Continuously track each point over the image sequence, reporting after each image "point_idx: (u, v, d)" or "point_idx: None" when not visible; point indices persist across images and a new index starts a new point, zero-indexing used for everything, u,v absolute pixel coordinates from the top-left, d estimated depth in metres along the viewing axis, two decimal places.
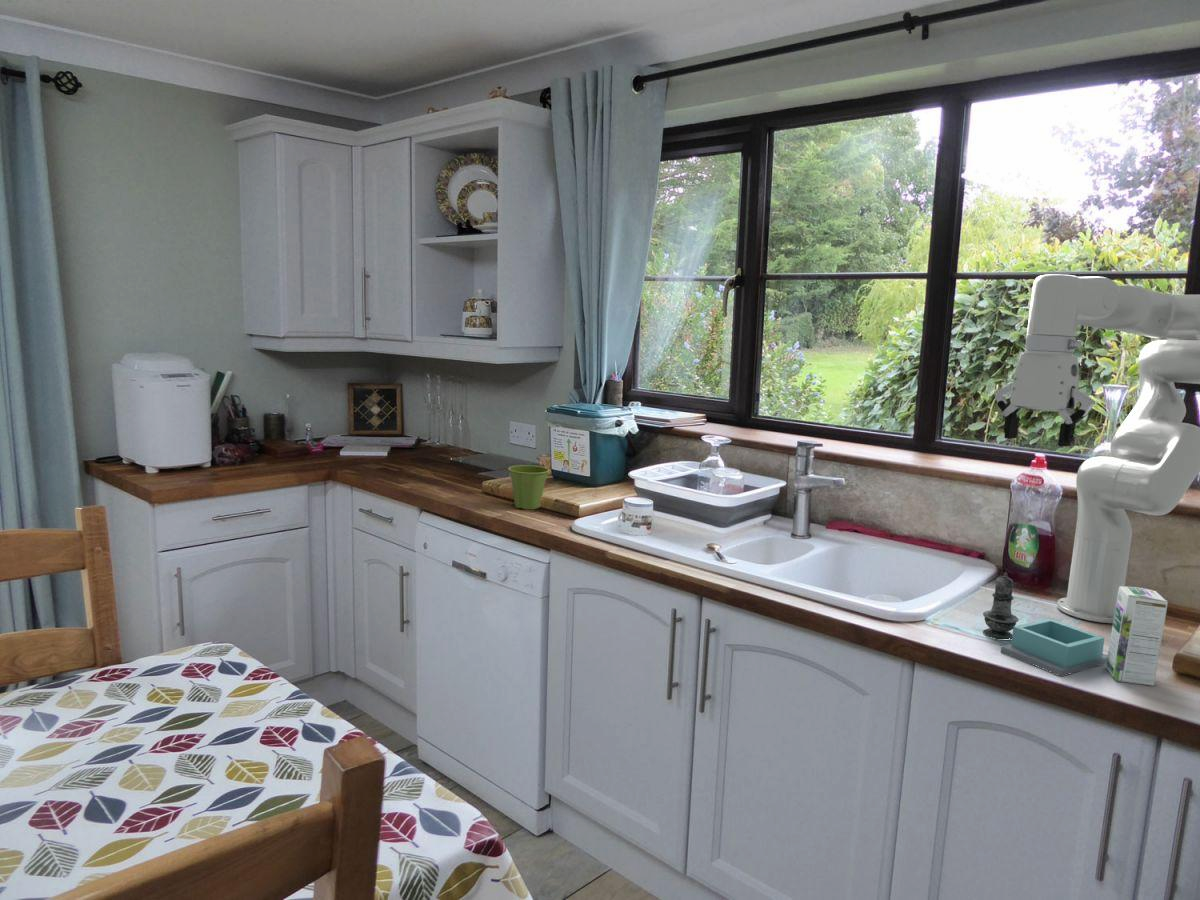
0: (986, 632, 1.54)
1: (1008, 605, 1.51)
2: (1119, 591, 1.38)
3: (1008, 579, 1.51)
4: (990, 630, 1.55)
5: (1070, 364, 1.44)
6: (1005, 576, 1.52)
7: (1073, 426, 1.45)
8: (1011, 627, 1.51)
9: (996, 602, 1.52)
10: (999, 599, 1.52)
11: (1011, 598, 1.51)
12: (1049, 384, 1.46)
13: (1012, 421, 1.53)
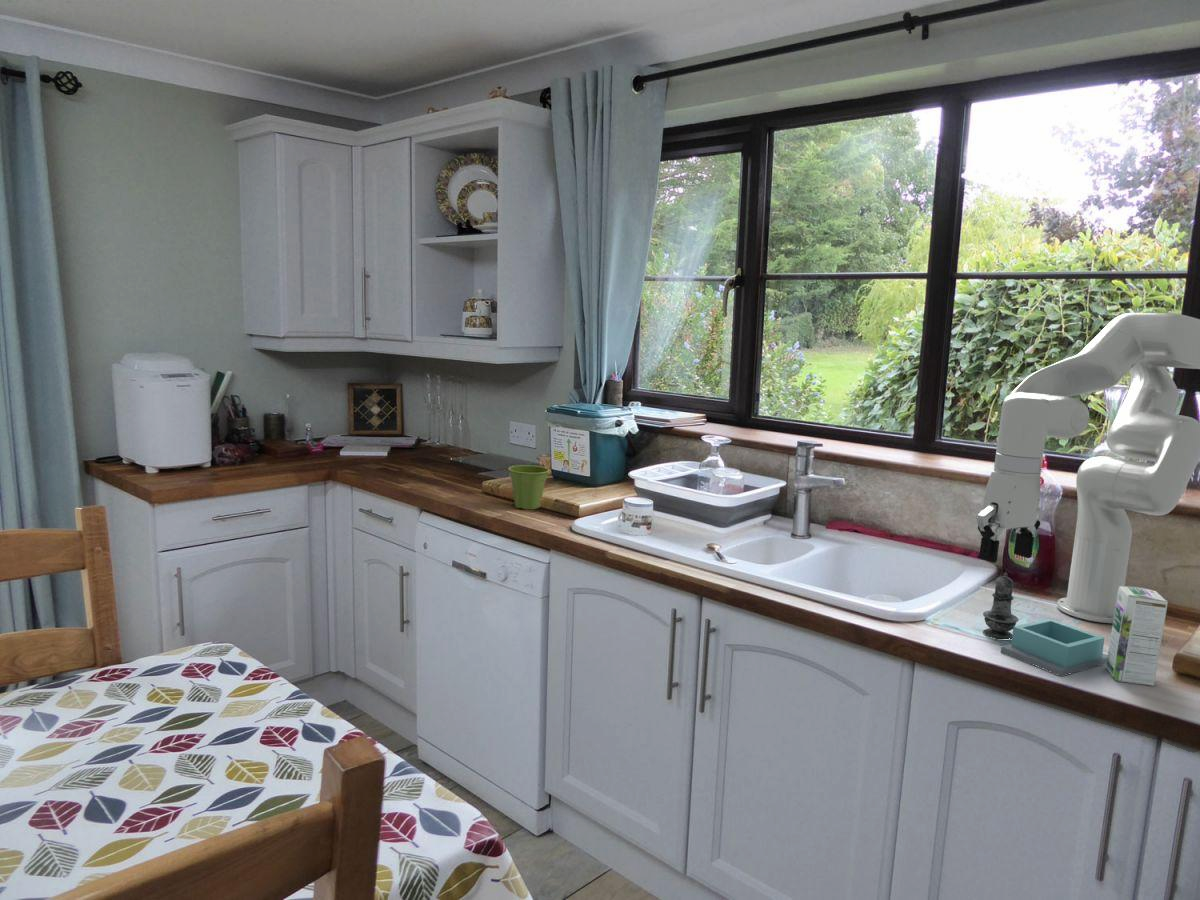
0: (986, 632, 1.54)
1: (1008, 605, 1.51)
2: (1119, 591, 1.38)
3: (1008, 579, 1.51)
4: (990, 630, 1.55)
5: None
6: (1005, 576, 1.52)
7: None
8: (1011, 627, 1.51)
9: (996, 602, 1.52)
10: (999, 599, 1.52)
11: (1011, 598, 1.51)
12: (1032, 503, 1.49)
13: None
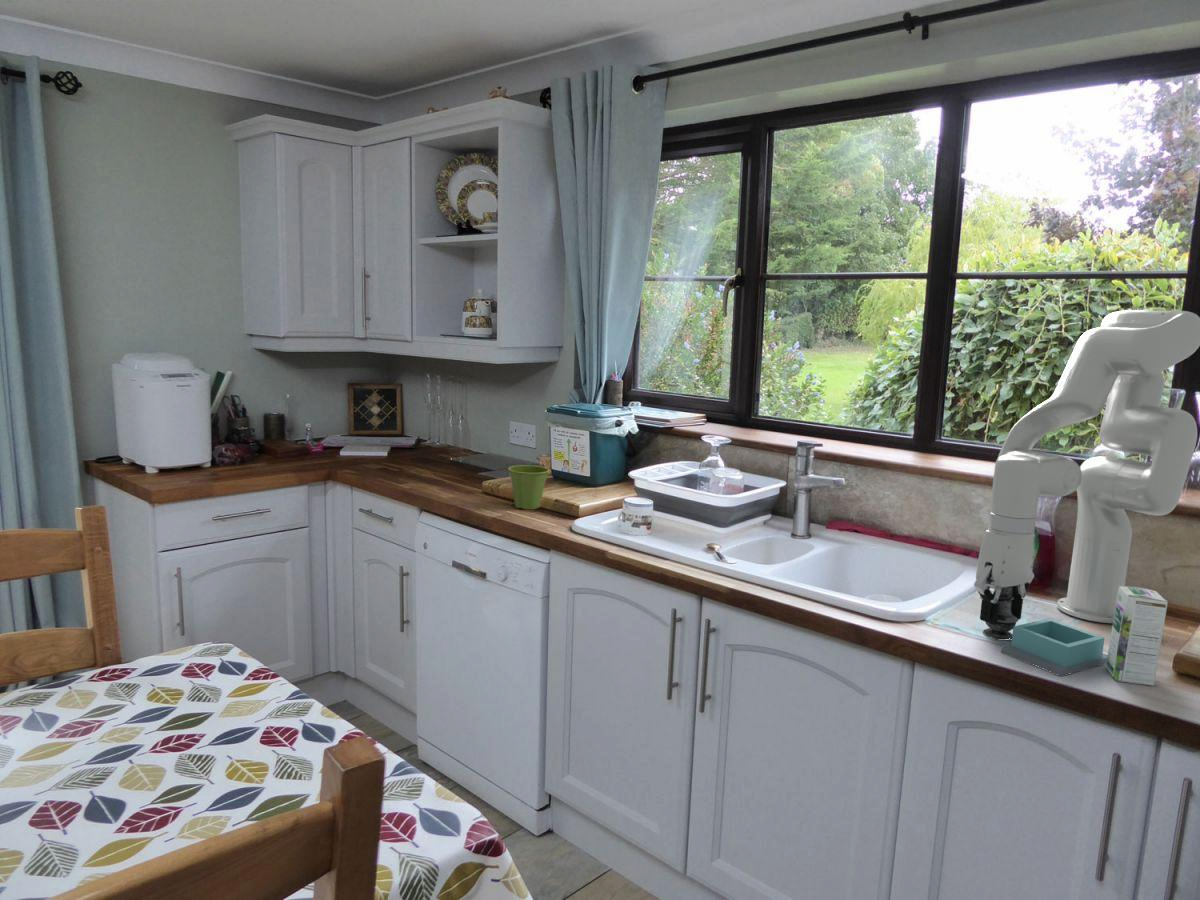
0: (986, 632, 1.54)
1: (1008, 605, 1.51)
2: (1119, 591, 1.38)
3: None
4: (990, 630, 1.55)
5: None
6: None
7: None
8: (1011, 627, 1.51)
9: None
10: (999, 599, 1.52)
11: (1011, 598, 1.51)
12: (1026, 561, 1.51)
13: None
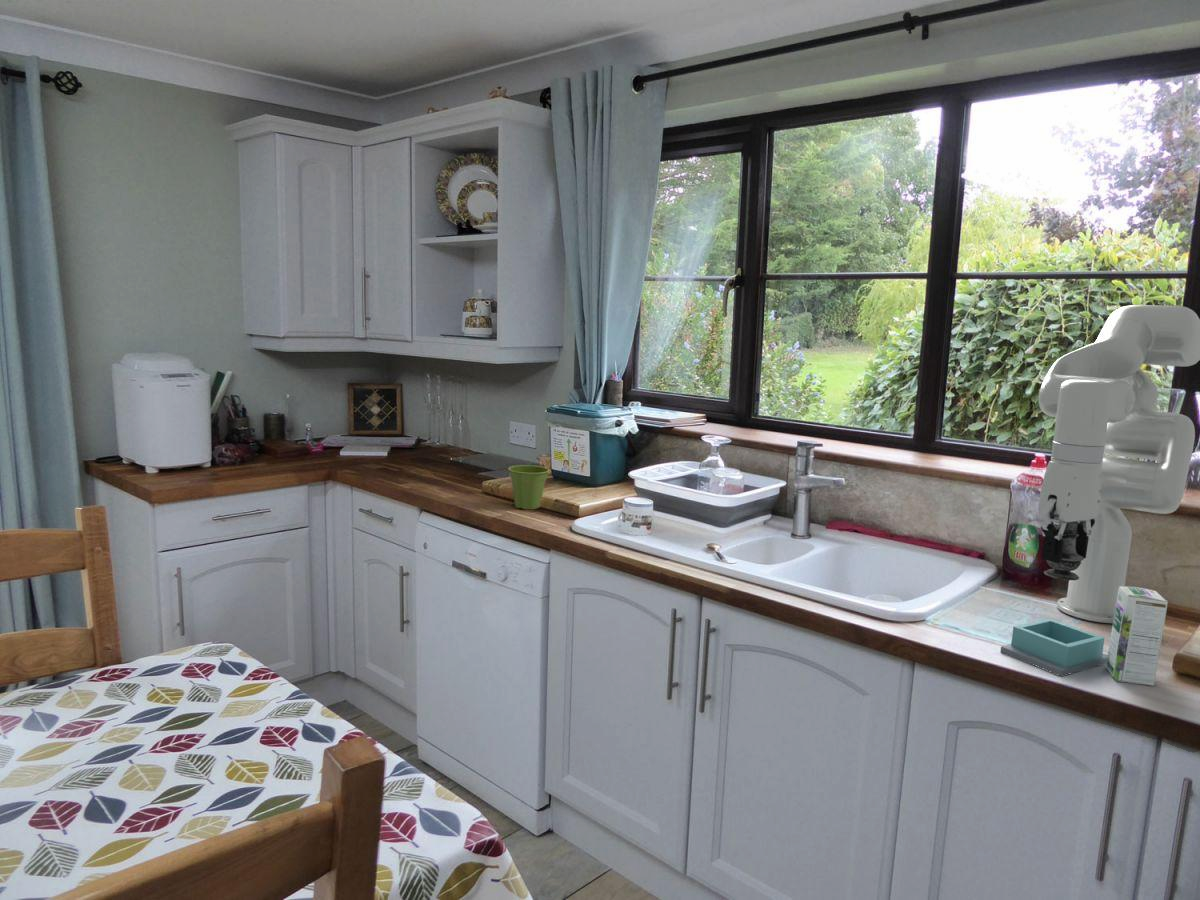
0: (1048, 572, 1.43)
1: (1073, 542, 1.40)
2: (1119, 591, 1.38)
3: None
4: (1052, 570, 1.43)
5: None
6: None
7: None
8: (1076, 566, 1.40)
9: None
10: (1063, 536, 1.40)
11: (1076, 534, 1.40)
12: (1093, 494, 1.39)
13: None
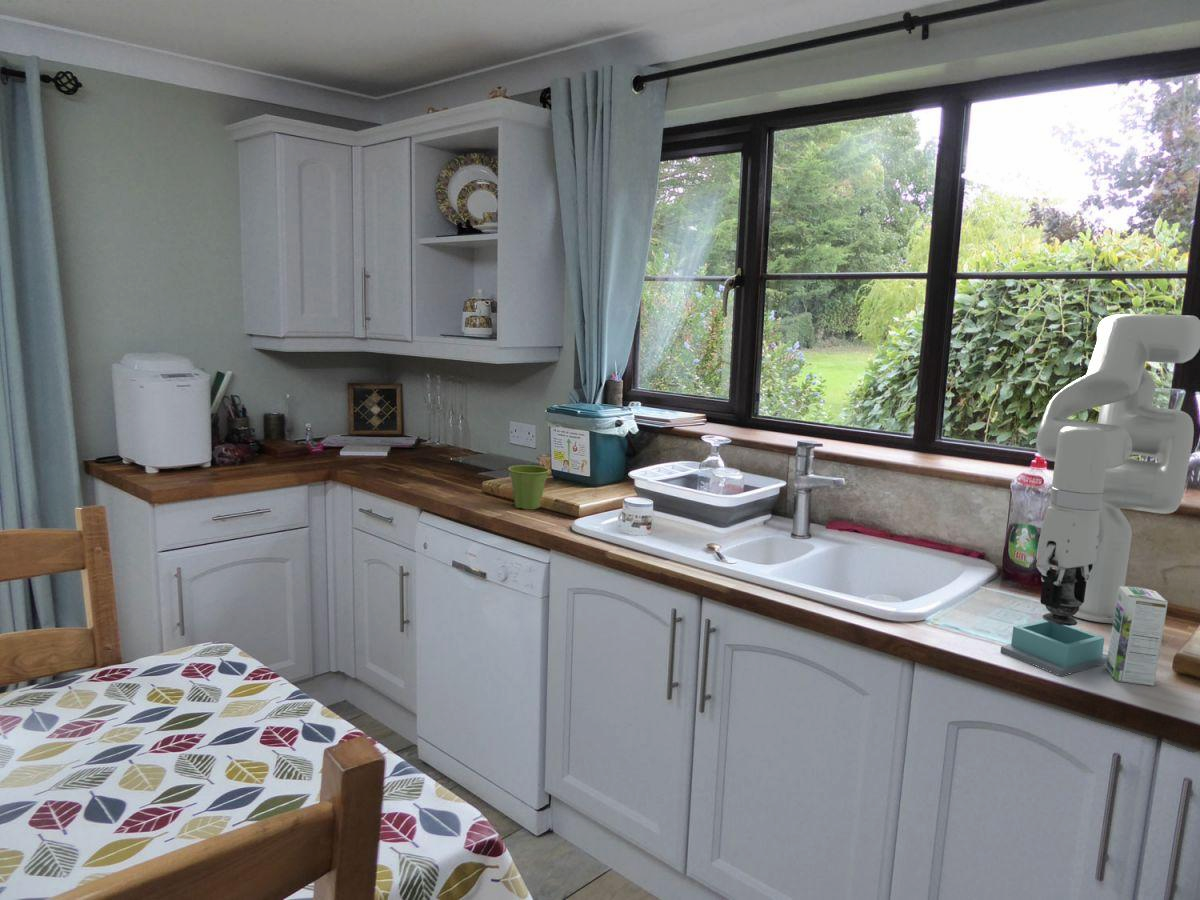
0: (1046, 617, 1.43)
1: (1071, 588, 1.41)
2: (1119, 591, 1.38)
3: None
4: (1050, 615, 1.44)
5: None
6: None
7: None
8: (1075, 611, 1.41)
9: None
10: (1061, 581, 1.41)
11: (1074, 580, 1.41)
12: (1091, 540, 1.40)
13: None
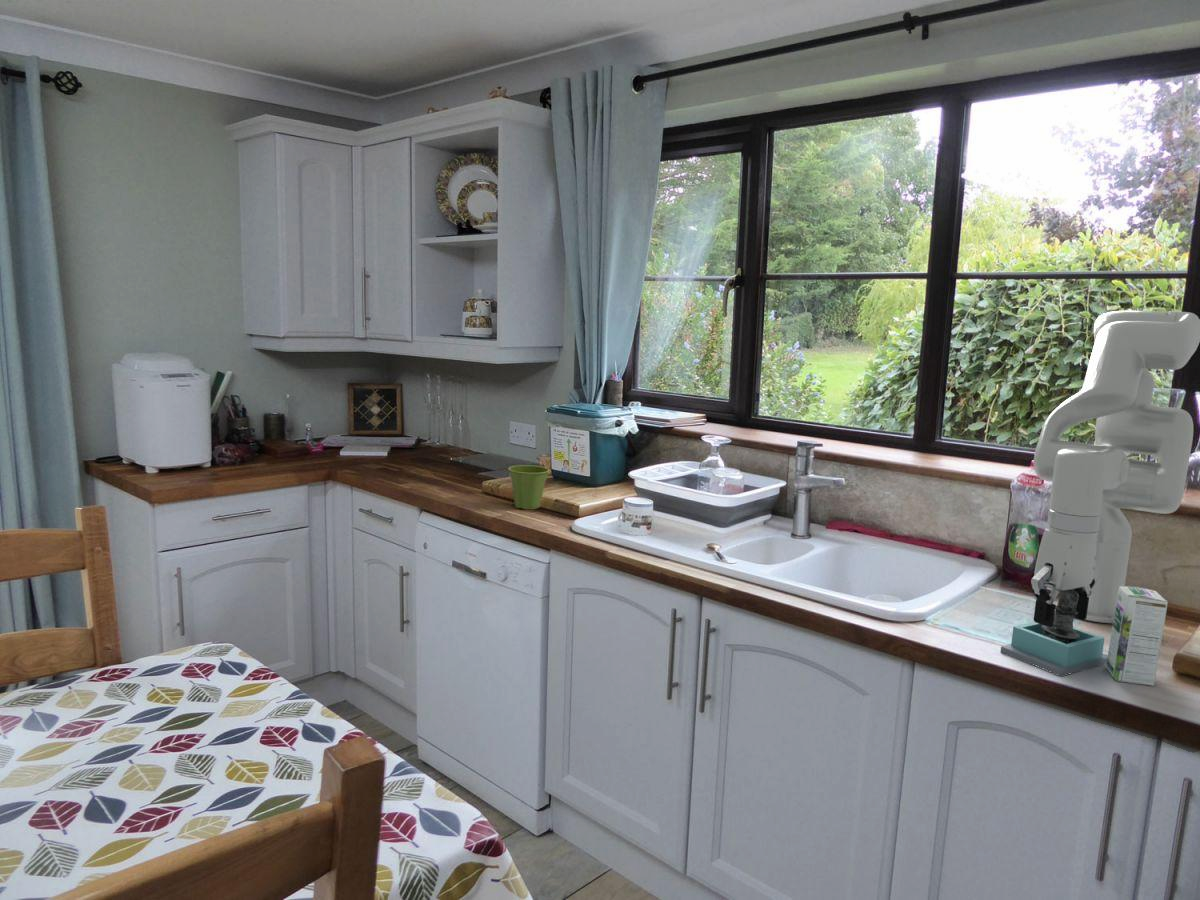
0: None
1: (1071, 620, 1.42)
2: (1119, 591, 1.38)
3: (1074, 592, 1.41)
4: None
5: None
6: (1071, 589, 1.42)
7: None
8: None
9: (1058, 615, 1.42)
10: (1062, 612, 1.42)
11: (1075, 612, 1.41)
12: (1089, 562, 1.41)
13: None
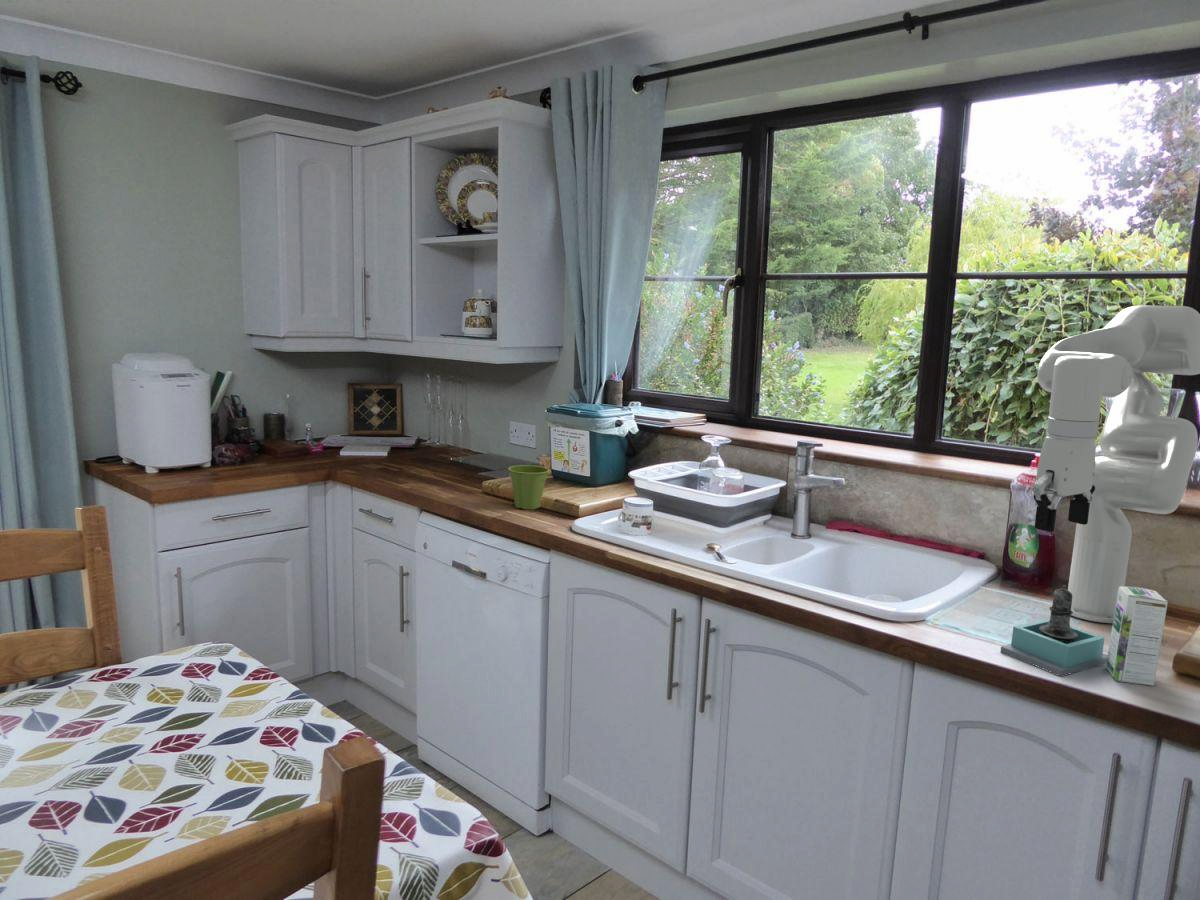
0: None
1: (1067, 620, 1.42)
2: (1119, 591, 1.38)
3: (1067, 592, 1.42)
4: None
5: None
6: (1064, 589, 1.42)
7: None
8: None
9: (1054, 616, 1.43)
10: (1058, 613, 1.42)
11: (1070, 612, 1.42)
12: (1088, 468, 1.42)
13: None
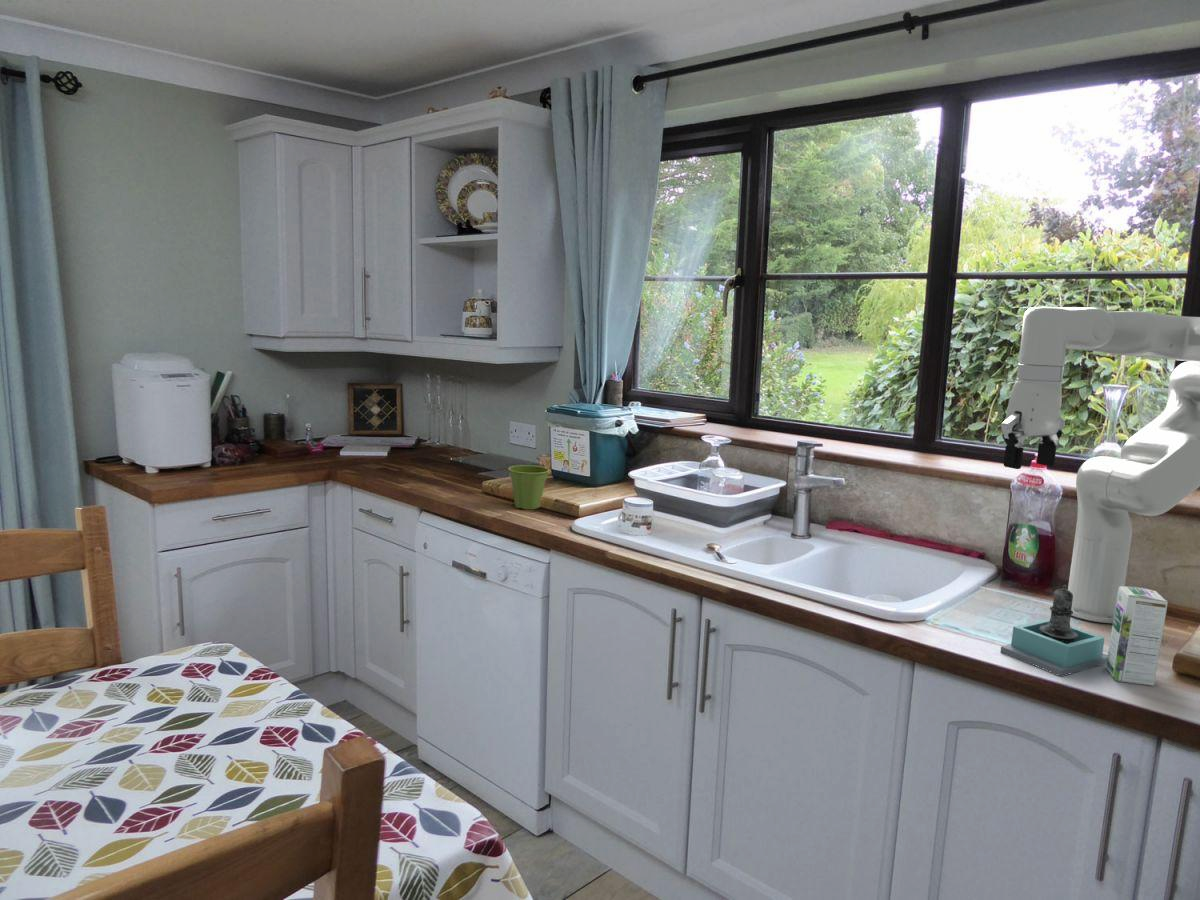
0: None
1: (1068, 620, 1.42)
2: (1119, 591, 1.38)
3: (1068, 592, 1.42)
4: None
5: None
6: (1064, 589, 1.42)
7: None
8: None
9: (1054, 616, 1.43)
10: (1058, 613, 1.42)
11: (1071, 612, 1.42)
12: (1054, 411, 1.54)
13: None
